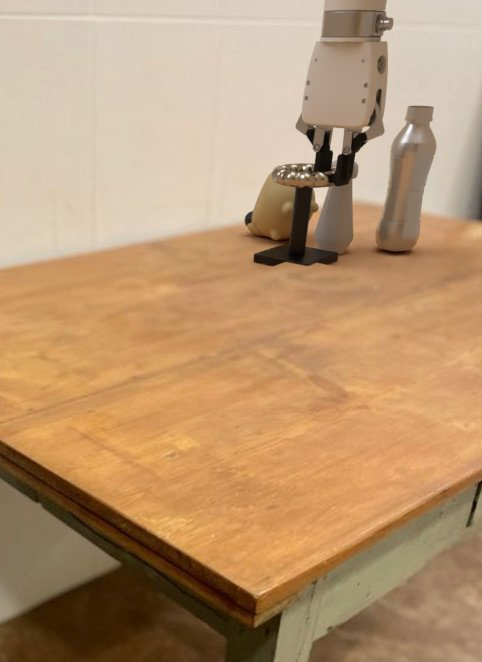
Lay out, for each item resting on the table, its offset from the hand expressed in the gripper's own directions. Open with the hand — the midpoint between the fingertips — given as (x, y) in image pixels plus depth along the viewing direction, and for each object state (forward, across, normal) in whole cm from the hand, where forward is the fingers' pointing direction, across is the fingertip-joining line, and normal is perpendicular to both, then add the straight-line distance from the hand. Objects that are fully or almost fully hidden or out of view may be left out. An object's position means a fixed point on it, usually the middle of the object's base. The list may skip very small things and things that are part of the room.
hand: (331, 182), depth 112 cm
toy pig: (+12, +14, -11) cm, 21 cm away
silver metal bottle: (+12, -4, -16) cm, 20 cm away
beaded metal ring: (-1, +4, 0) cm, 4 cm away
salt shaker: (+12, +3, -9) cm, 15 cm away
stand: (+11, +4, 0) cm, 12 cm away
